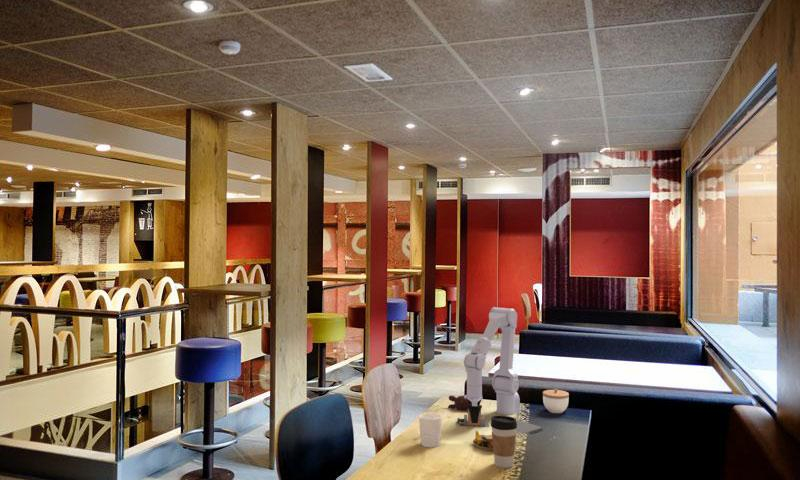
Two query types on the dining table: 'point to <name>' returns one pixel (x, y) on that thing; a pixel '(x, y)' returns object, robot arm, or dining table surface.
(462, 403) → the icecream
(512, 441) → the coffee cup
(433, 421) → the white cup
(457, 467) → the dining table surface
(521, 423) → the mat
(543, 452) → the dining table surface
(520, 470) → the dining table surface
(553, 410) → the lidded jar
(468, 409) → the block
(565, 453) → the dining table surface
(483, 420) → the vise
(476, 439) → the toy sandwich meal
